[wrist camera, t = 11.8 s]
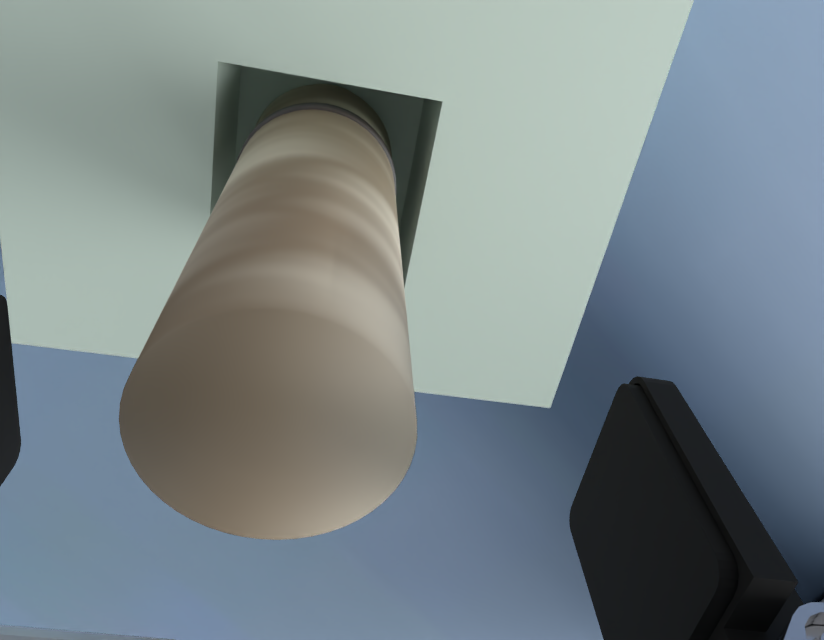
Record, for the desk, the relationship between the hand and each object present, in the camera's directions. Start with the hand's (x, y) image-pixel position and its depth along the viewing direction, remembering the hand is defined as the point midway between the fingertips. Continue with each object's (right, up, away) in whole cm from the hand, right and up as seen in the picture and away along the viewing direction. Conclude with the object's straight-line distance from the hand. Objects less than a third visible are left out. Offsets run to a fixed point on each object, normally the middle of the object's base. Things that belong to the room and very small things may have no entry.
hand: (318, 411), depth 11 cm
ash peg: (-1, +7, +11) cm, 13 cm away
